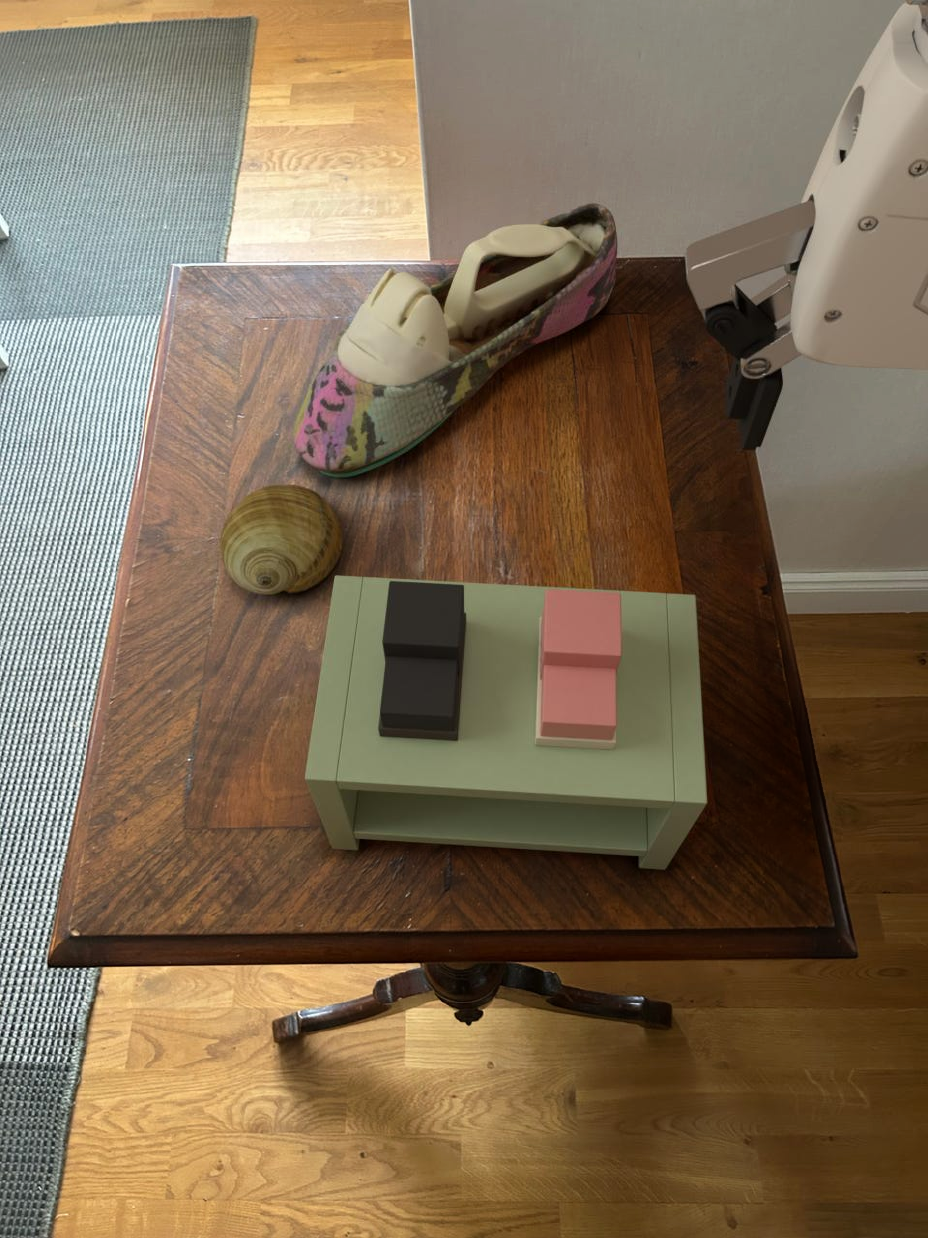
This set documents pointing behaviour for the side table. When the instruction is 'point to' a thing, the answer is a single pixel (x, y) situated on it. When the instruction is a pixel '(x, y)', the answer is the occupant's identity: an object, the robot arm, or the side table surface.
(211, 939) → the side table surface
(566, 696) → the pink stepped block
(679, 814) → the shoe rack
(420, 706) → the black stepped block
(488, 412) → the side table surface
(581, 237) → the ballet flat
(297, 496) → the seashell
